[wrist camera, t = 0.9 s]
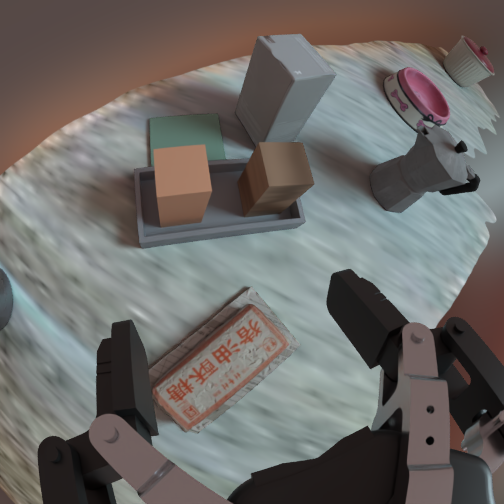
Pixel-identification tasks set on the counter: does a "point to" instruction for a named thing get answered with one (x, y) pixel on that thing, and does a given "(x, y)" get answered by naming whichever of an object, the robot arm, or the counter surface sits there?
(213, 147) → the green mat
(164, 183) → the terracotta carton
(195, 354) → the packaged product
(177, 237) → the grey bin
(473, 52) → the canister
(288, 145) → the walnut block
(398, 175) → the coffeepot
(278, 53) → the skincare box
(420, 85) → the dog bowl
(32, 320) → the counter surface
